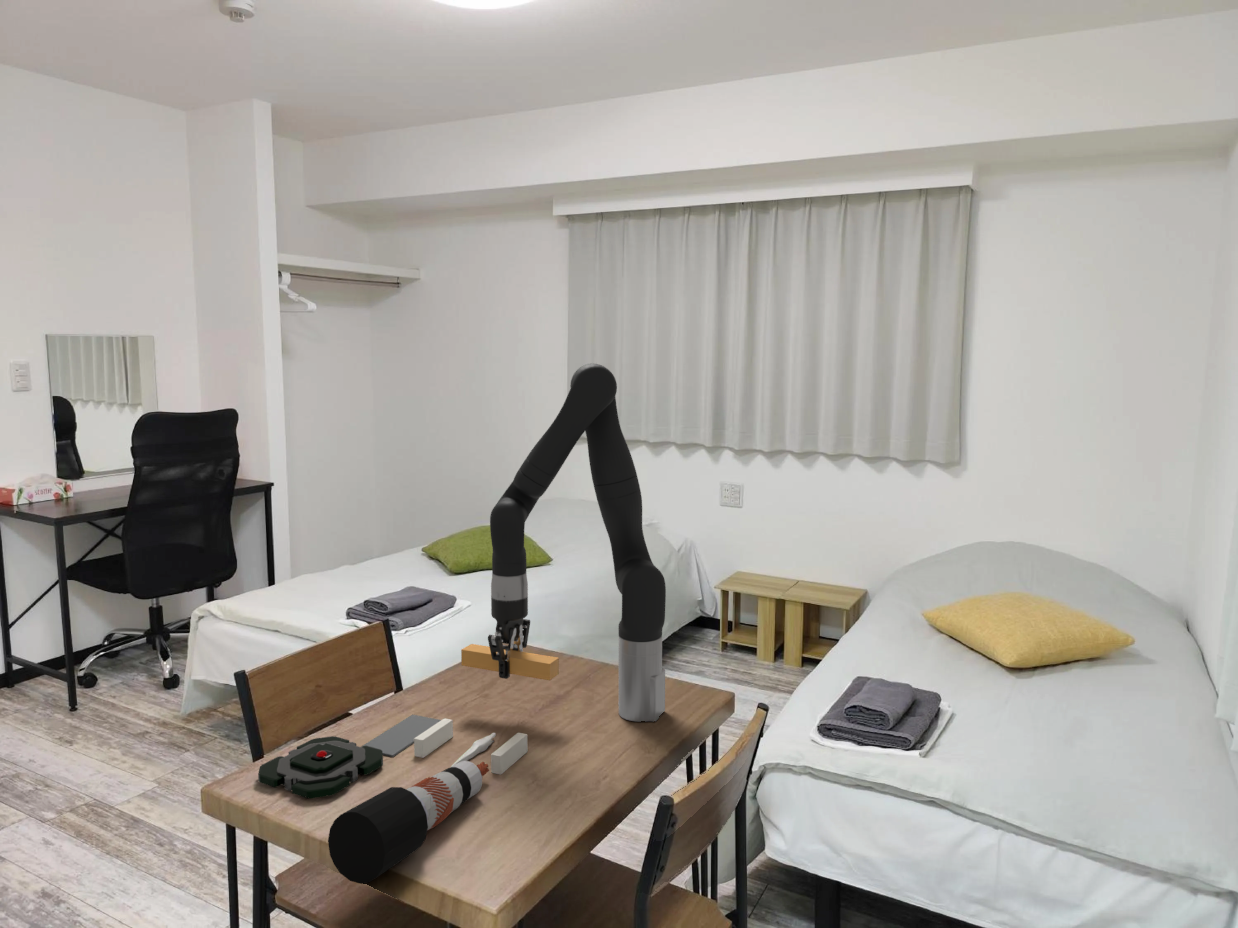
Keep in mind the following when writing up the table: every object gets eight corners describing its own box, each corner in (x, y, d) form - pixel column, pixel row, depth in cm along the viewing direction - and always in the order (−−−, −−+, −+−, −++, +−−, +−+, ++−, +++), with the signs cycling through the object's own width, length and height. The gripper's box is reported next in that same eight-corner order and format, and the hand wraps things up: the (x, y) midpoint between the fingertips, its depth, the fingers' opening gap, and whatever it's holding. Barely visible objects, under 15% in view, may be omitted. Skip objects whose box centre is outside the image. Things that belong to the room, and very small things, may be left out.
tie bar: (558, 673, 176) (558, 657, 176) (549, 680, 172) (549, 663, 172) (471, 659, 184) (471, 643, 184) (461, 665, 180) (461, 649, 180)
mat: (444, 722, 178) (444, 720, 178) (392, 756, 162) (392, 754, 162) (412, 716, 181) (412, 714, 181) (359, 749, 165) (359, 747, 165)
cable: (492, 807, 152) (517, 762, 150) (366, 898, 121) (395, 842, 119) (451, 772, 156) (474, 727, 154) (318, 851, 124) (345, 797, 122)
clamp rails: (527, 751, 164) (527, 734, 164) (500, 774, 155) (500, 756, 155) (444, 734, 172) (444, 718, 171) (414, 755, 163) (413, 738, 162)
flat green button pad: (324, 744, 168) (323, 722, 168) (394, 764, 160) (393, 741, 159) (247, 784, 152) (246, 760, 152) (320, 809, 144) (319, 783, 144)
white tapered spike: (489, 738, 171) (489, 729, 171) (500, 740, 170) (500, 731, 169) (444, 771, 157) (444, 761, 157) (456, 773, 156) (456, 764, 156)
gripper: (507, 605, 168) (508, 688, 170) (541, 587, 181) (541, 665, 183) (475, 600, 171) (476, 682, 173) (510, 584, 184) (511, 660, 186)
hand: (510, 673), depth 178 cm, fingers closed on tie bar, 4 cm apart
